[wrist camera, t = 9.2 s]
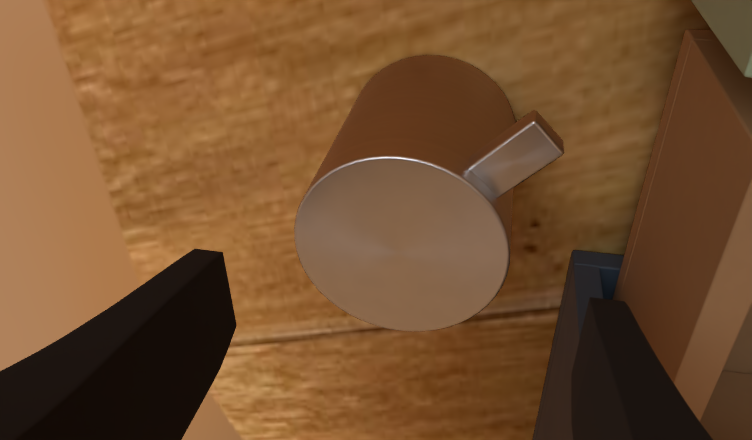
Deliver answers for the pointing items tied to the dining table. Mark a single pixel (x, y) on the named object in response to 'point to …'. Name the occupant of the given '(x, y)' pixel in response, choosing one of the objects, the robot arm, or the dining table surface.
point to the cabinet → (572, 337)
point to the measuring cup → (420, 196)
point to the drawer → (701, 225)
